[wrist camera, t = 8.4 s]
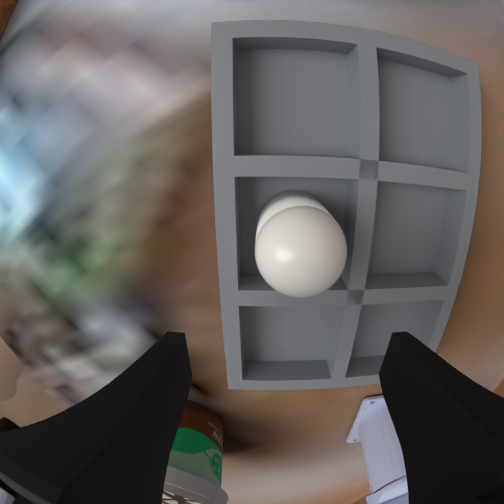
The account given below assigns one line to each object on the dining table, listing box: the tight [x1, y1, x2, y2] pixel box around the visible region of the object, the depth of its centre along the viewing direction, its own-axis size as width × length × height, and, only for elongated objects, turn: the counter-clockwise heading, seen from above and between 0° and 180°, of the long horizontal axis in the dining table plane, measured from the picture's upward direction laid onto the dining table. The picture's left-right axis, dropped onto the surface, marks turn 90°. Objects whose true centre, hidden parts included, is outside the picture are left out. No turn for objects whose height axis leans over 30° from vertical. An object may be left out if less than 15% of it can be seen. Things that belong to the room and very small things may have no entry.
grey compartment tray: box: [211, 20, 482, 390], centre depth 16 cm, size 15×22×3 cm
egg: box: [255, 190, 347, 298], centre depth 13 cm, size 4×4×6 cm
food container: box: [162, 400, 228, 504], centre depth 20 cm, size 12×6×10 cm, turn 18°
